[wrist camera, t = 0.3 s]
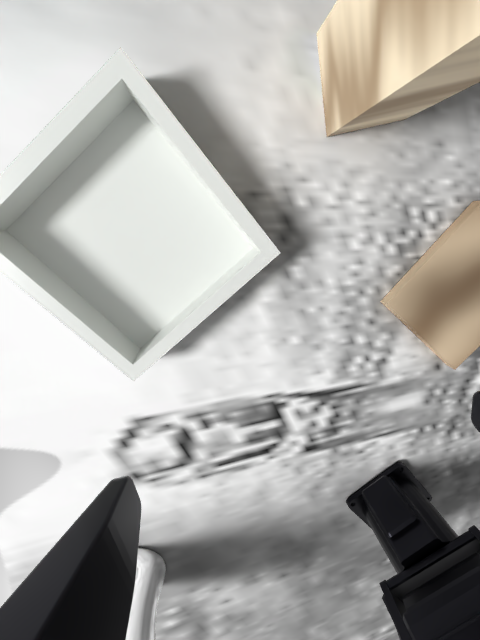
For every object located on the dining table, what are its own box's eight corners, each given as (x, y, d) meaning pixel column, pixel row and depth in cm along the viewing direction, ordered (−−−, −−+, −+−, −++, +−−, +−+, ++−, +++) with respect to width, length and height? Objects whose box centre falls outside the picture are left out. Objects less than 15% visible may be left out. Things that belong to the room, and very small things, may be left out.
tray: (268, 248, 19) (280, 253, 16) (142, 359, 20) (133, 381, 18) (135, 79, 15) (120, 47, 13) (-10, 228, 17) (-52, 229, 14)
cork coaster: (532, 280, 23) (544, 282, 22) (446, 365, 24) (454, 369, 23) (472, 201, 20) (483, 200, 19) (380, 301, 22) (386, 304, 21)
